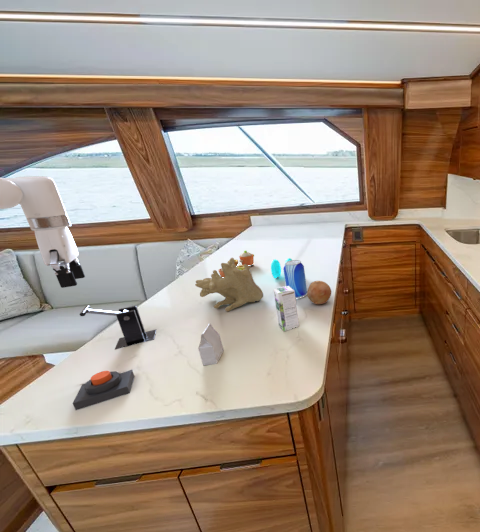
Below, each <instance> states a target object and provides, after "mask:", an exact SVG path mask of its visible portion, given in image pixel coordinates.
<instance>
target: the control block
mask: <svg viewBox="0 0 480 532" xmlns="http://www.w3.org/2000/svg"><path fill="white" fill-rule="evenodd" d="M110 373H111V376H112V379H110V380H109V381H107V382H105V383H103V384H99V385H93V384H92V381H91V378H90V379H88V380H87V381H86V382H84V383H82V384H81V385H80V388H79V390H78V392H77V394H76V396H75V398H74V400H73V402H72V405H73V407H74V410H75V411H78V410H82V409H85V408H88V407H91V406H94V405H97V404H100V403H103V402H107V401H110V400H112V399H116V398H120V397H122V396H126V395H128V394H131V390H132V387H133V383H134V379H135V374H134V371H133V369H130V370H127V371H123V372H119V371H110Z"/></svg>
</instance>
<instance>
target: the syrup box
mask: <svg viewBox="0 0 480 532" xmlns="http://www.w3.org/2000/svg"><path fill="white" fill-rule="evenodd" d="M272 291H273V297H274V302H275V303H274V304H275V311H276V317H277V322H278V327H279V328H280V329H281V330H282V331H283V332H287V331H290V330H293V329H295V327H296V328H298V327H300V321H299V314H298V307H297V299H296V298H295V291H294V290H293V289H292V288H291V287H290V286H286V285H285V286H284V285H283V286H280V287H276V288H274V289H272ZM292 328H293V329H292ZM289 329H290V330H289ZM286 330H287V331H286Z"/></svg>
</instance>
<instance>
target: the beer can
mask: <svg viewBox="0 0 480 532" xmlns="http://www.w3.org/2000/svg"><path fill="white" fill-rule="evenodd" d="M283 276H284V282H285V286H290V287H291V288H292V289H293V290H294V291H295V298H300V297H303V296H305V295H307V291H308V288H307V280H306V271H305V266H304V264H303V263H302V261H301V260H300V259H292V260H291V261H287V262H285V261H284V266H283ZM305 297H306V296H305Z"/></svg>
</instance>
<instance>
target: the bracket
mask: <svg viewBox="0 0 480 532" xmlns="http://www.w3.org/2000/svg"><path fill="white" fill-rule="evenodd" d="M124 310H131V311H127V312H123V311H124ZM118 312H122V313H117V314H116V316H115V317H116V319H117V322H118V324H119V327H120V330H121V332H122V335H123V337H119V338H118V340H117V343H116V345H115V347H114V350H119V349H123V348H127V347H131V346H135V345H138V344H142V343H147V342H151V341H154V340H155V338H156V334H157V329H151V330H148V331H146V329H145V328H144V324H143V321H142V317H141V315H140V312H139V309H138V306H137V305H132V306H127V307H121V308H118Z"/></svg>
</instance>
